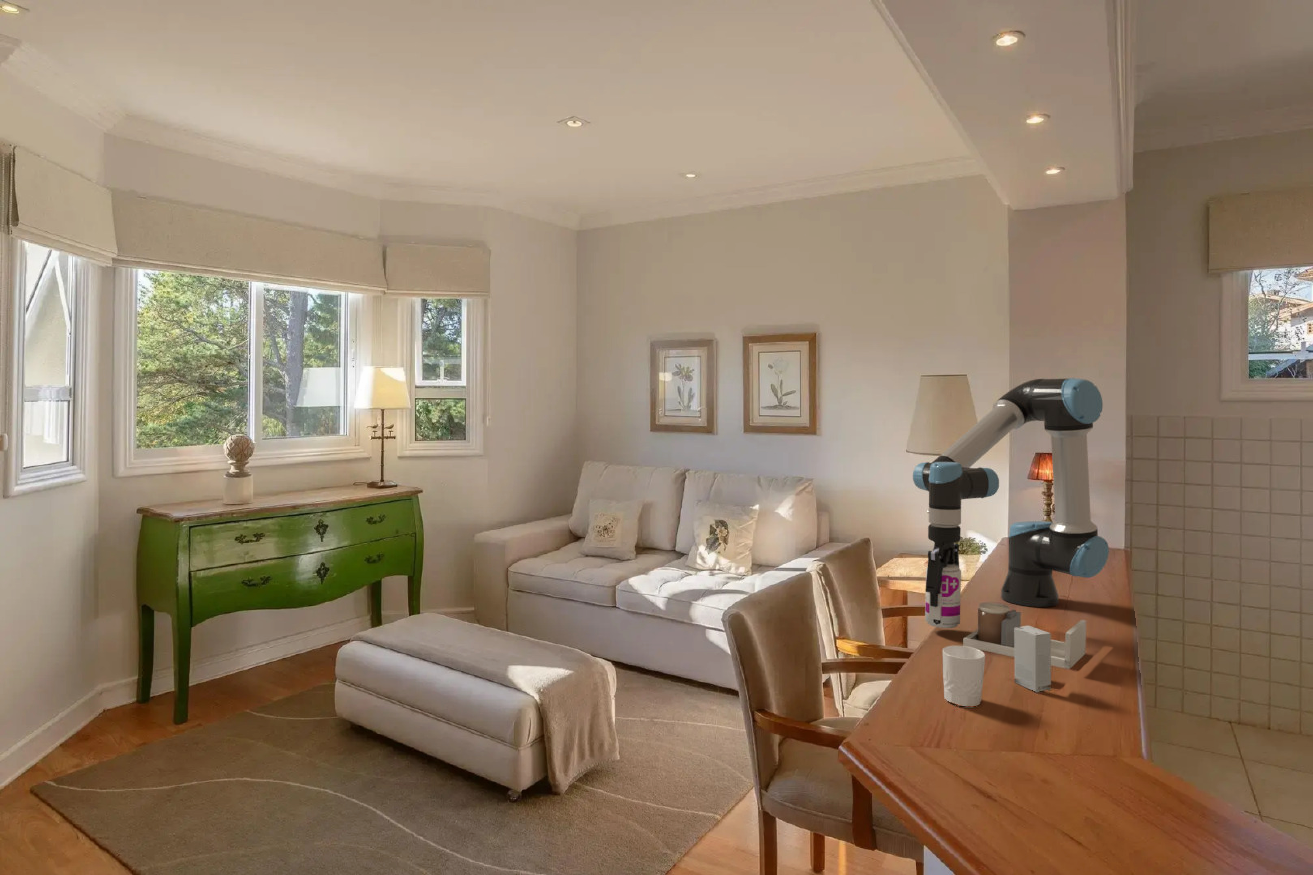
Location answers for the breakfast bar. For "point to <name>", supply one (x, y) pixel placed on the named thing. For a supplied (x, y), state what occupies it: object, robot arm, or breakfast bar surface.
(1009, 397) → the robot arm
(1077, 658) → the lane
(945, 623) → the supplement can
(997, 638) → the jar
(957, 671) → the white cup
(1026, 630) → the skincare box
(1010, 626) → the pusher
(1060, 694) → the breakfast bar surface
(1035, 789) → the breakfast bar surface
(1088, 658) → the breakfast bar surface
